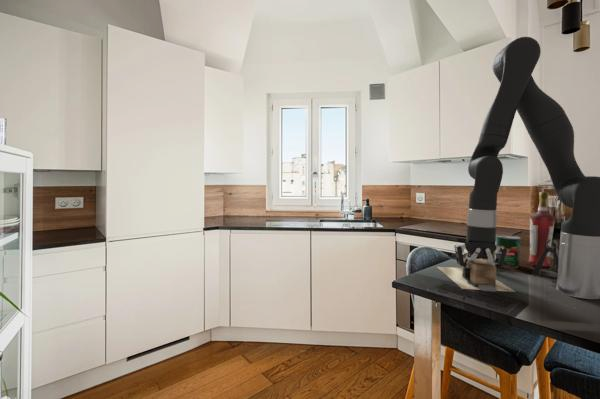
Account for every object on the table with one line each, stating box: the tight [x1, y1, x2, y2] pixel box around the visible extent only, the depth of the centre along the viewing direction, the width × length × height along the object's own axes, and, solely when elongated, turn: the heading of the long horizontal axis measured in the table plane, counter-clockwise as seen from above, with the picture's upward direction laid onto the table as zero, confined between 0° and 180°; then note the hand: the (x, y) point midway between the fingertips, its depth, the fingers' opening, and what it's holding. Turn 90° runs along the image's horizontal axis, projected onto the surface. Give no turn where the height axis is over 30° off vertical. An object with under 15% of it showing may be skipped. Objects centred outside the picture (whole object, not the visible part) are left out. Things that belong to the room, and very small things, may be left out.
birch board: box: [437, 266, 516, 293], centre depth 95 cm, size 14×22×1 cm, turn 173°
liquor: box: [527, 191, 556, 269], centre depth 114 cm, size 7×7×28 cm
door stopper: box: [531, 239, 559, 280], centre depth 103 cm, size 9×6×12 cm, turn 47°
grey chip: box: [478, 284, 498, 293], centre depth 85 cm, size 4×3×1 cm
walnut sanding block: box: [462, 257, 498, 287], centre depth 91 cm, size 6×9×6 cm, turn 172°
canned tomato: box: [493, 234, 521, 269], centre depth 115 cm, size 8×8×11 cm
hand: (478, 280), depth 91 cm, fingers closed on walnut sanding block, 5 cm apart
